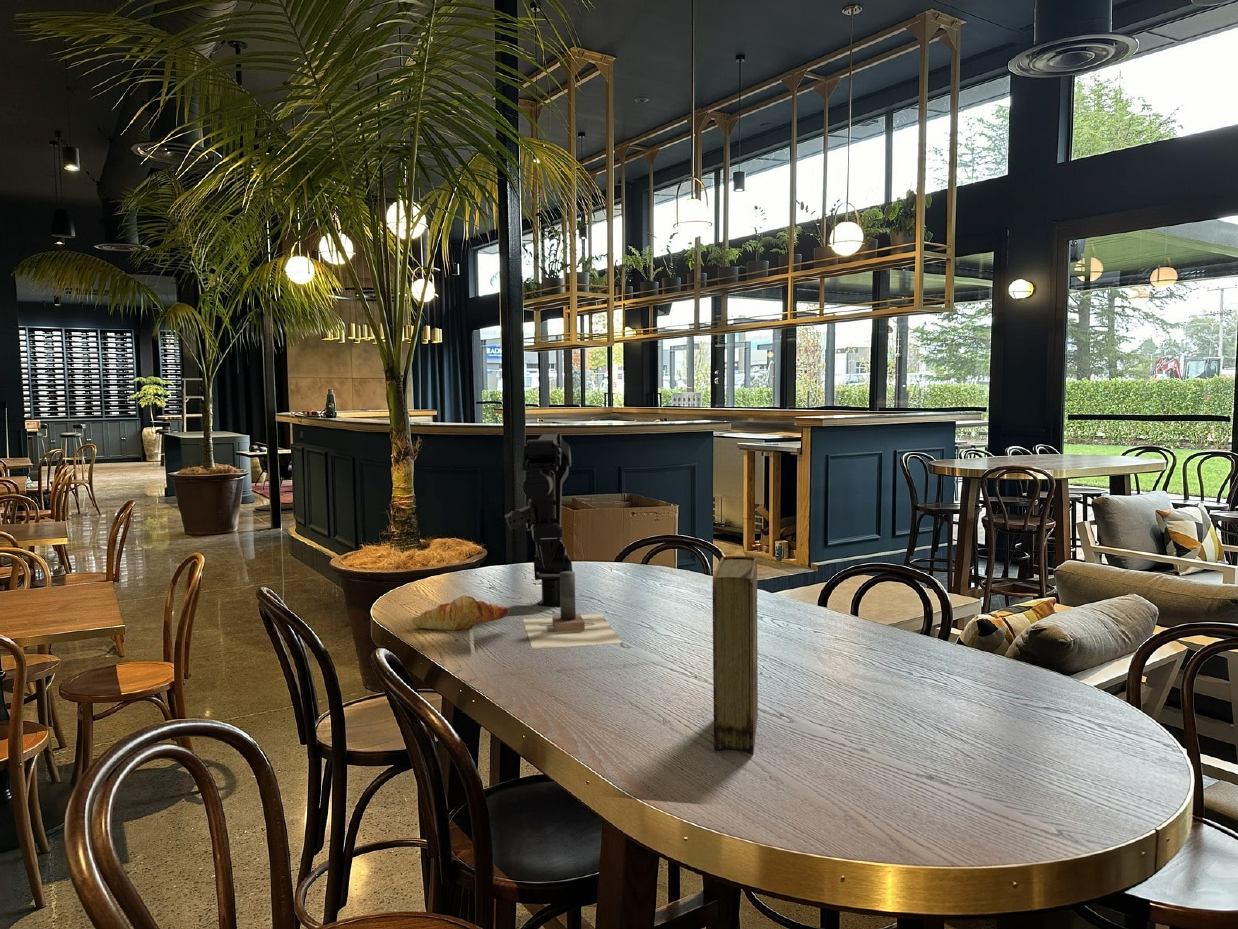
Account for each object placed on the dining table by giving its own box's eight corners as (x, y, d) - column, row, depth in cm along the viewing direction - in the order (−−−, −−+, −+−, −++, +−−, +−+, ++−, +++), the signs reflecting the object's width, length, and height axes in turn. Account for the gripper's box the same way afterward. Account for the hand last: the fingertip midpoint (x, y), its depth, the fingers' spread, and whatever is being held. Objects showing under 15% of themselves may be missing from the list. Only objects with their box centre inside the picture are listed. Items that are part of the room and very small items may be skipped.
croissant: (414, 648, 182) (414, 621, 178) (409, 617, 190) (409, 590, 186) (510, 636, 189) (512, 609, 185) (501, 606, 197) (503, 580, 193)
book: (723, 711, 133) (721, 555, 132) (758, 713, 132) (757, 556, 130) (713, 753, 117) (712, 577, 116) (753, 756, 116) (752, 578, 114)
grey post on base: (552, 624, 183) (551, 570, 182) (579, 622, 184) (578, 568, 183) (556, 633, 176) (555, 576, 175) (584, 631, 177) (583, 575, 177)
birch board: (522, 623, 189) (522, 618, 189) (601, 617, 192) (601, 613, 192) (532, 654, 165) (532, 649, 165) (622, 647, 169) (622, 642, 169)
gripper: (504, 492, 196) (505, 558, 197) (509, 501, 178) (511, 574, 179) (551, 490, 198) (552, 556, 199) (561, 499, 180) (563, 571, 181)
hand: (544, 564), depth 190 cm, fingers open, 9 cm apart
